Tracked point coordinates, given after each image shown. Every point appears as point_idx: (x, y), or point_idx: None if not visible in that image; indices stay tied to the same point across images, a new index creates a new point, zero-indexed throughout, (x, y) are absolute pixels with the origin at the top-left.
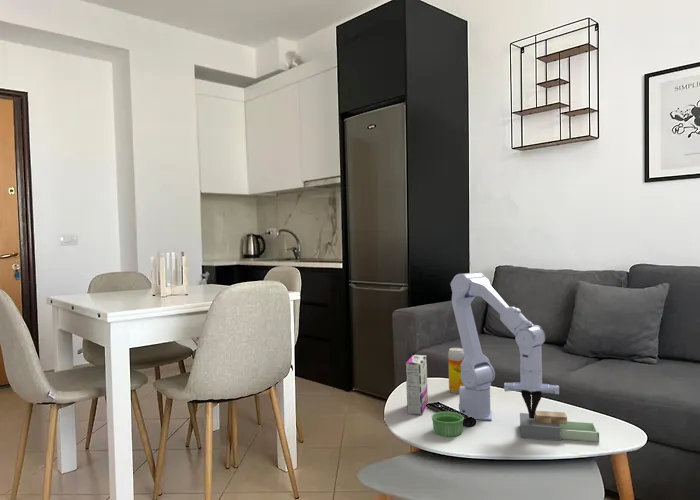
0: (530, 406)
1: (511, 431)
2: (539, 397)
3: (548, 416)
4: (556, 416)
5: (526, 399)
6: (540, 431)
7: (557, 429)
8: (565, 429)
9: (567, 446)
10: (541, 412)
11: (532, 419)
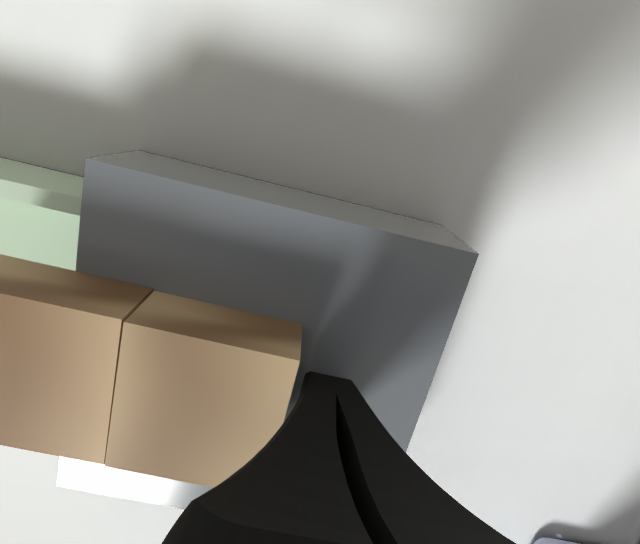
0: (364, 450)
1: (470, 352)
2: (216, 520)
3: (157, 326)
4: (60, 310)
5: (467, 531)
6: (295, 200)
7: (125, 164)
8: None
9: (109, 18)
10: (208, 440)
11: None
